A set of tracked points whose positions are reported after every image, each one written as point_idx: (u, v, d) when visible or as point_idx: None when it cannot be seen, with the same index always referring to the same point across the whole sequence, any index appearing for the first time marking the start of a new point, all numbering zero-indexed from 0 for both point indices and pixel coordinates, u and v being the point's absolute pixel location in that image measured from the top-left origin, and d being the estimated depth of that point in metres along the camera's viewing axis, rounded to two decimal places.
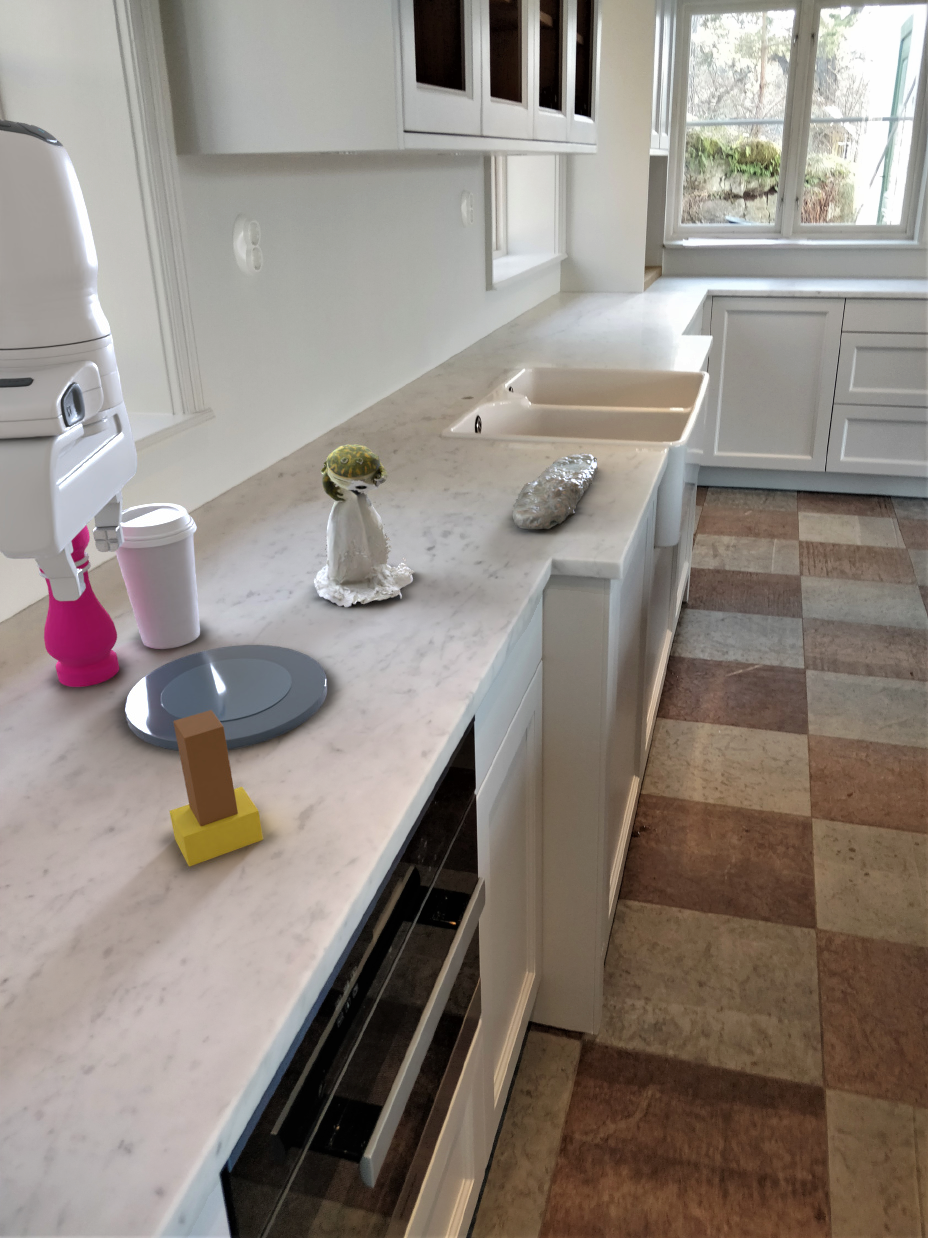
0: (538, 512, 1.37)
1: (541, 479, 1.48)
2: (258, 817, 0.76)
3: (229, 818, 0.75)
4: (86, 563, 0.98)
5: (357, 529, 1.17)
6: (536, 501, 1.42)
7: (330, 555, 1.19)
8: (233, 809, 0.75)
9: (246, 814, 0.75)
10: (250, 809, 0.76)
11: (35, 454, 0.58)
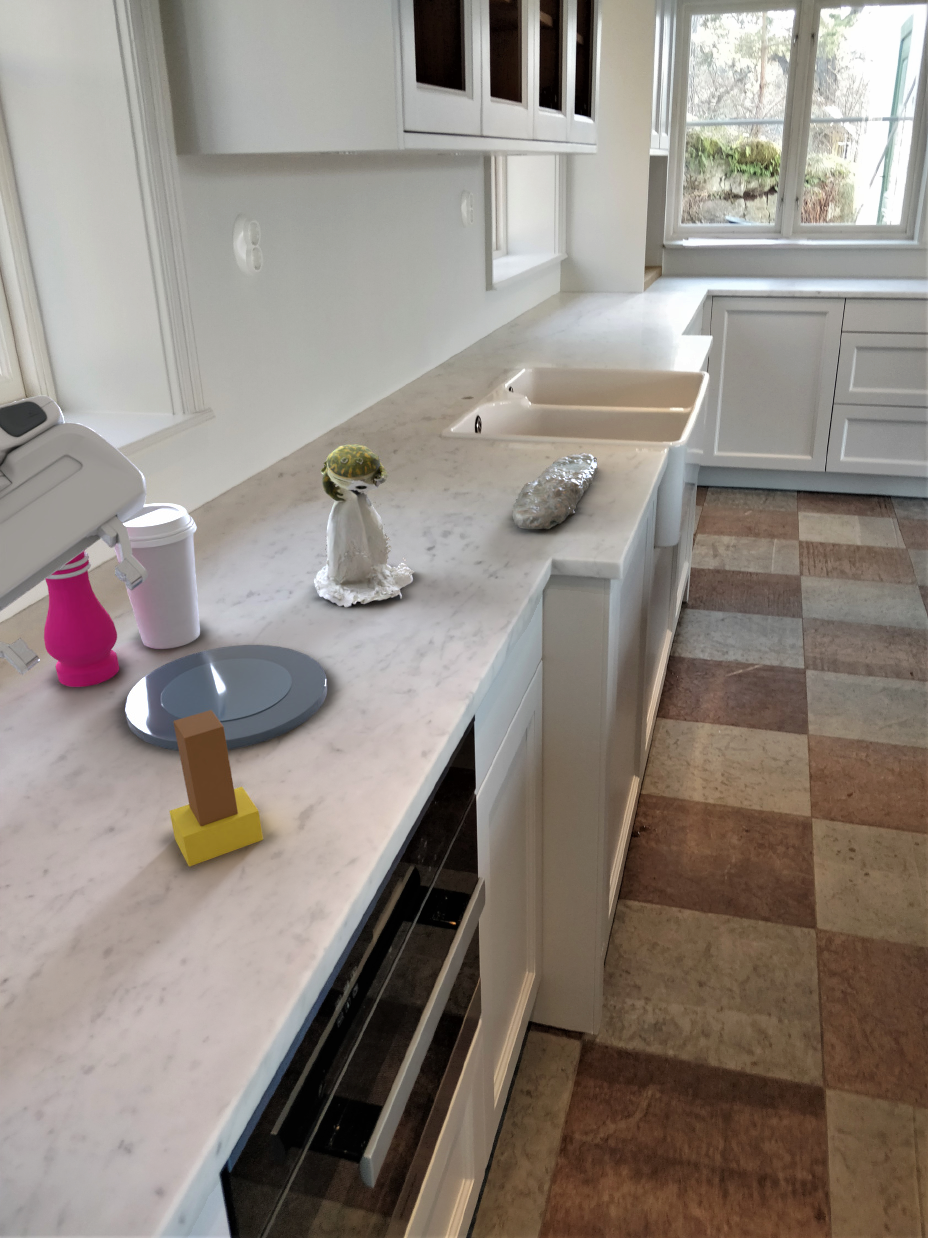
0: (538, 512, 1.37)
1: (541, 479, 1.48)
2: (258, 817, 0.76)
3: (229, 818, 0.75)
4: (86, 563, 0.98)
5: (357, 529, 1.17)
6: (536, 501, 1.42)
7: (330, 555, 1.19)
8: (233, 809, 0.75)
9: (246, 814, 0.75)
10: (250, 809, 0.76)
11: None
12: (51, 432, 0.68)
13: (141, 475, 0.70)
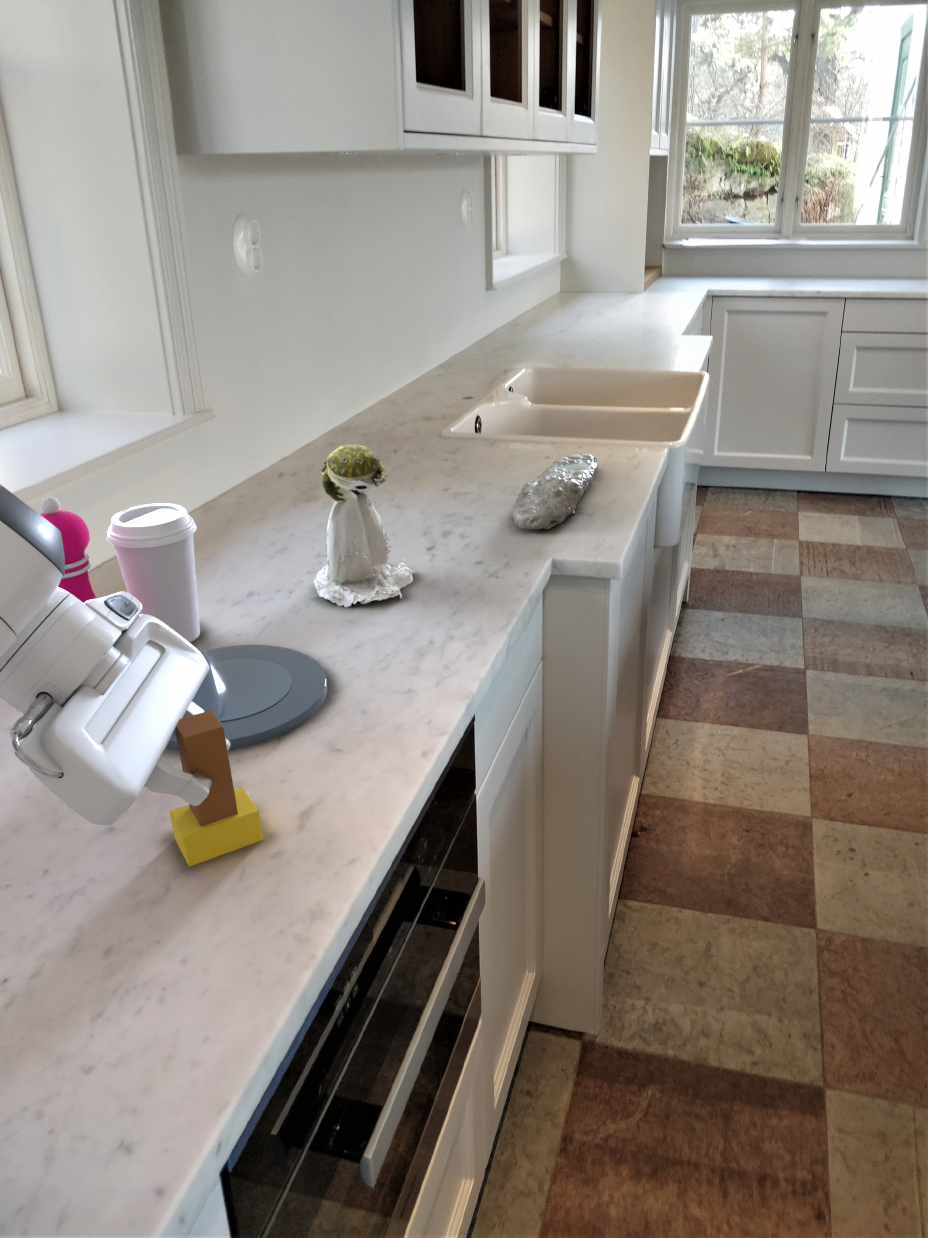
0: (538, 512, 1.37)
1: (541, 479, 1.48)
2: (258, 817, 0.76)
3: (229, 819, 0.75)
4: (86, 563, 0.98)
5: (357, 529, 1.17)
6: (536, 501, 1.42)
7: (330, 555, 1.19)
8: (233, 809, 0.75)
9: (246, 814, 0.75)
10: (250, 809, 0.76)
11: None
12: (140, 620, 0.76)
13: (203, 656, 0.81)
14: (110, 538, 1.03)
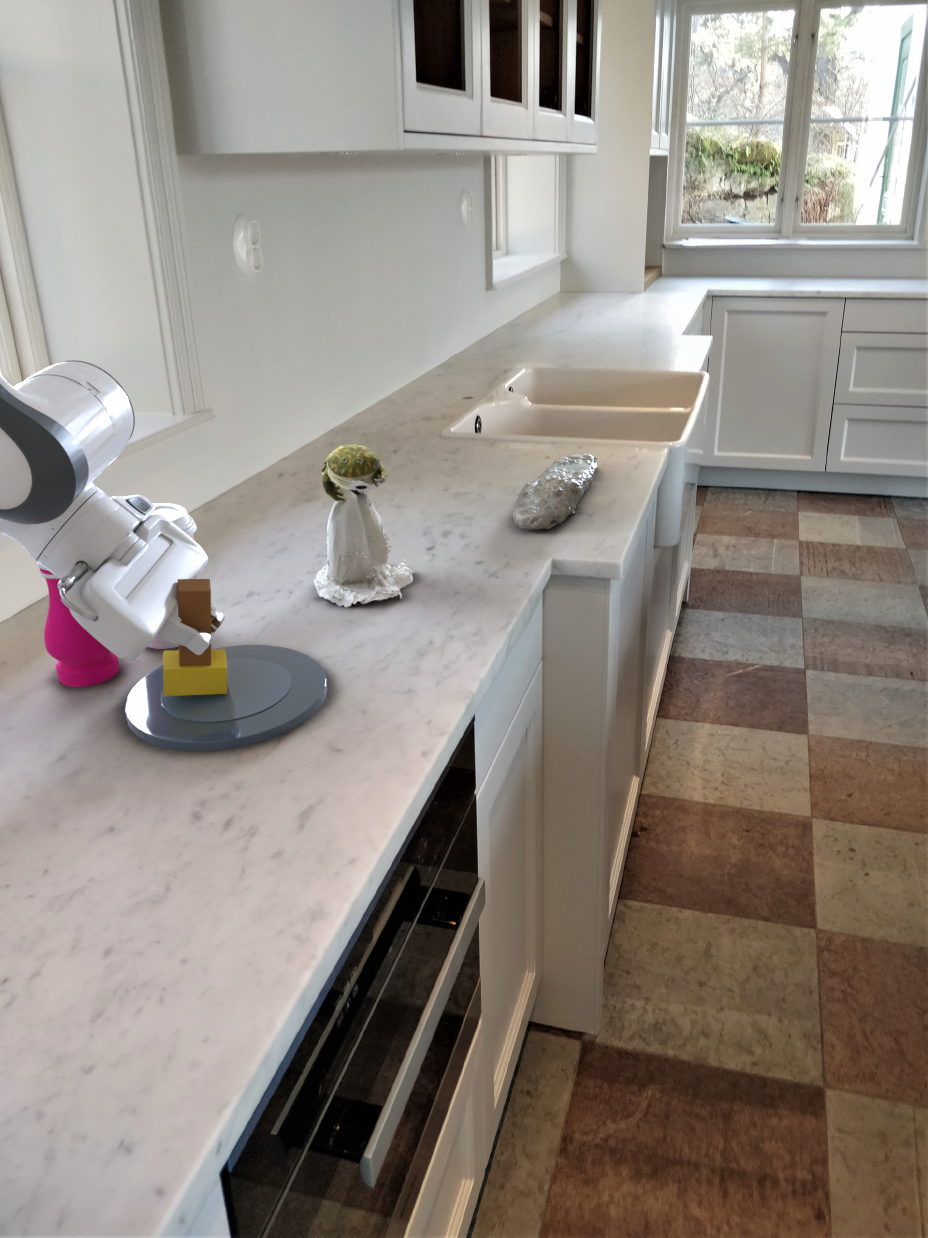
0: (538, 512, 1.37)
1: (541, 479, 1.48)
2: (226, 672, 0.94)
3: (203, 667, 0.94)
4: None
5: (357, 529, 1.17)
6: (536, 501, 1.42)
7: (330, 555, 1.19)
8: (207, 660, 0.94)
9: (216, 667, 0.94)
10: (221, 665, 0.94)
11: None
12: (154, 517, 0.96)
13: (203, 550, 1.01)
14: None
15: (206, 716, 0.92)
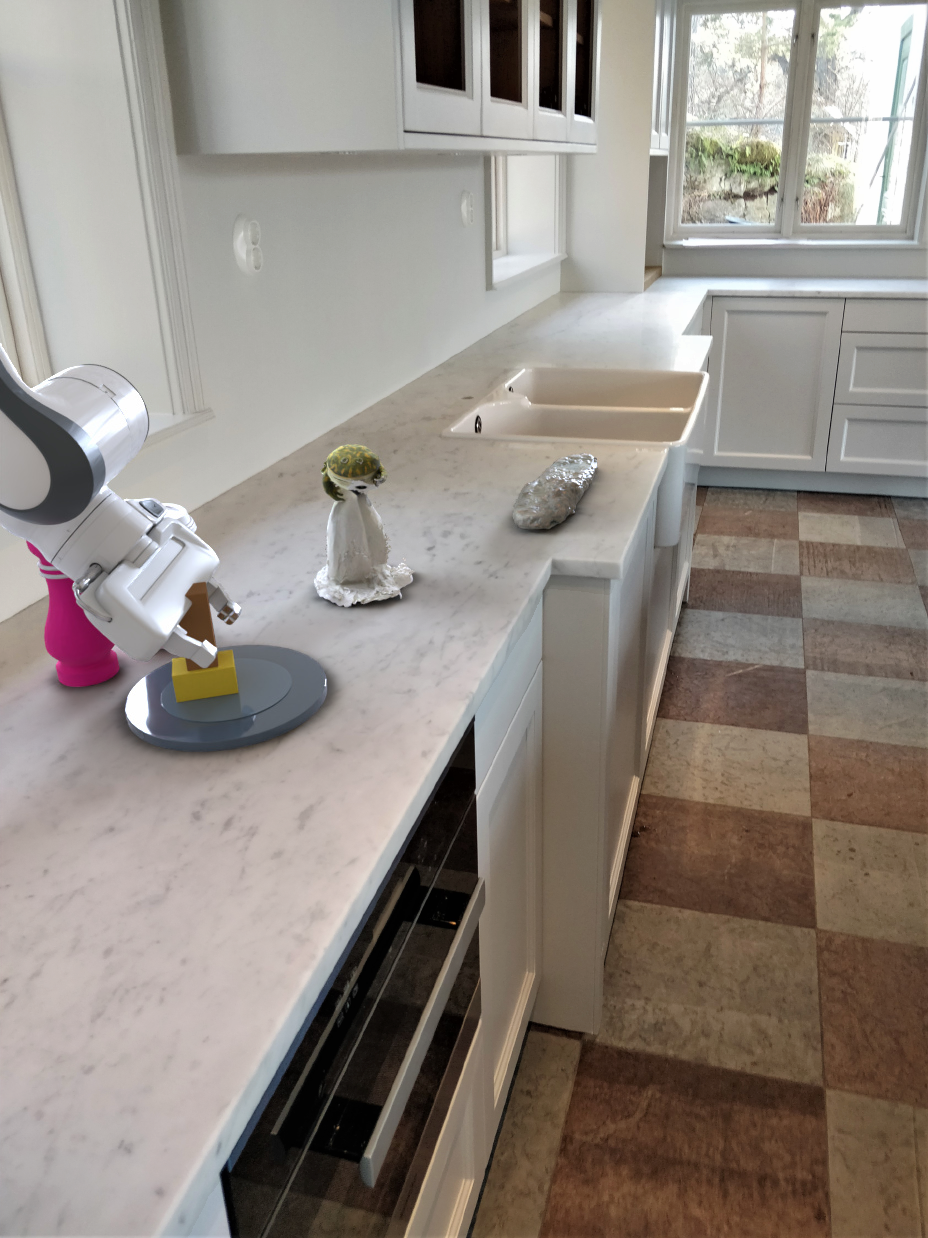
0: (538, 512, 1.37)
1: (541, 479, 1.48)
2: (234, 672, 0.95)
3: (210, 669, 0.95)
4: None
5: (357, 529, 1.17)
6: (536, 501, 1.42)
7: (330, 555, 1.19)
8: (214, 662, 0.95)
9: (224, 667, 0.95)
10: (228, 665, 0.95)
11: None
12: (166, 520, 0.97)
13: (215, 553, 1.01)
14: None
15: (206, 716, 0.92)
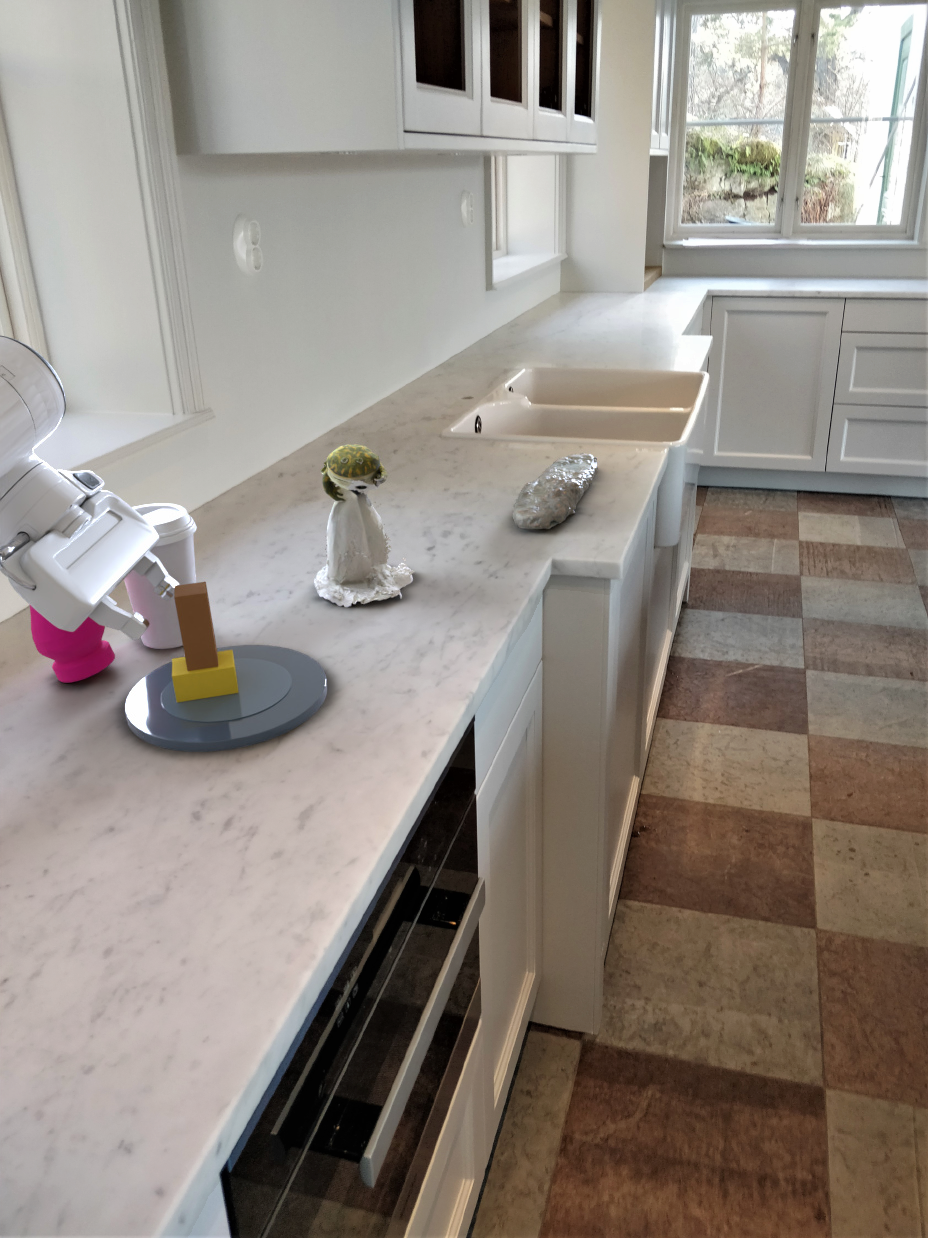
0: (538, 512, 1.37)
1: (541, 479, 1.48)
2: (234, 672, 0.95)
3: (210, 669, 0.95)
4: None
5: (357, 529, 1.17)
6: (536, 501, 1.42)
7: (330, 555, 1.19)
8: (214, 662, 0.95)
9: (224, 667, 0.95)
10: (228, 665, 0.95)
11: None
12: (102, 493, 0.96)
13: (154, 528, 1.00)
14: None
15: (206, 716, 0.92)
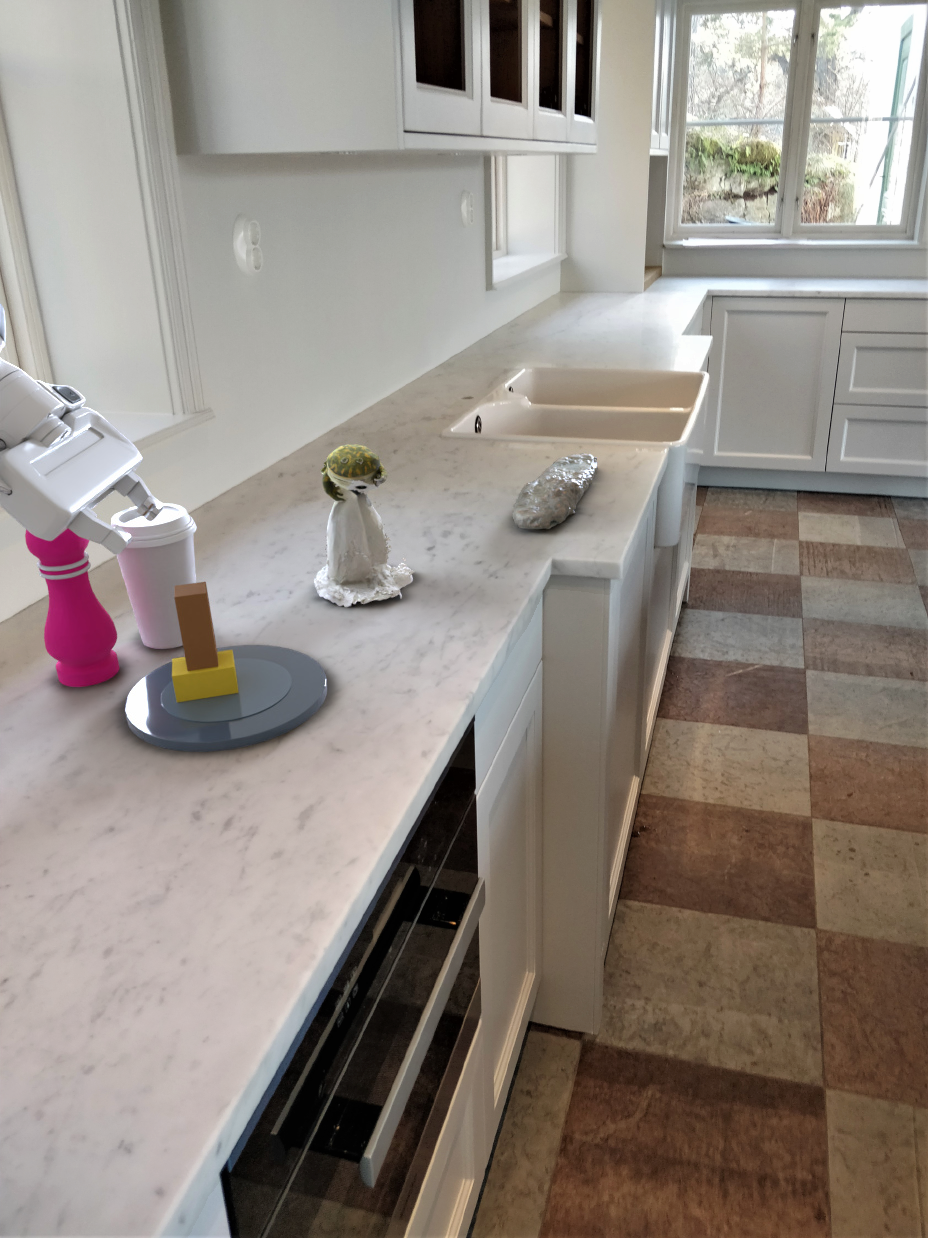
0: (538, 512, 1.37)
1: (541, 479, 1.48)
2: (234, 672, 0.95)
3: (210, 669, 0.95)
4: (86, 563, 0.98)
5: (357, 529, 1.17)
6: (536, 501, 1.42)
7: (330, 555, 1.19)
8: (214, 662, 0.95)
9: (224, 667, 0.95)
10: (228, 665, 0.95)
11: None
12: (83, 409, 0.92)
13: (137, 450, 0.97)
14: None
15: (206, 716, 0.92)
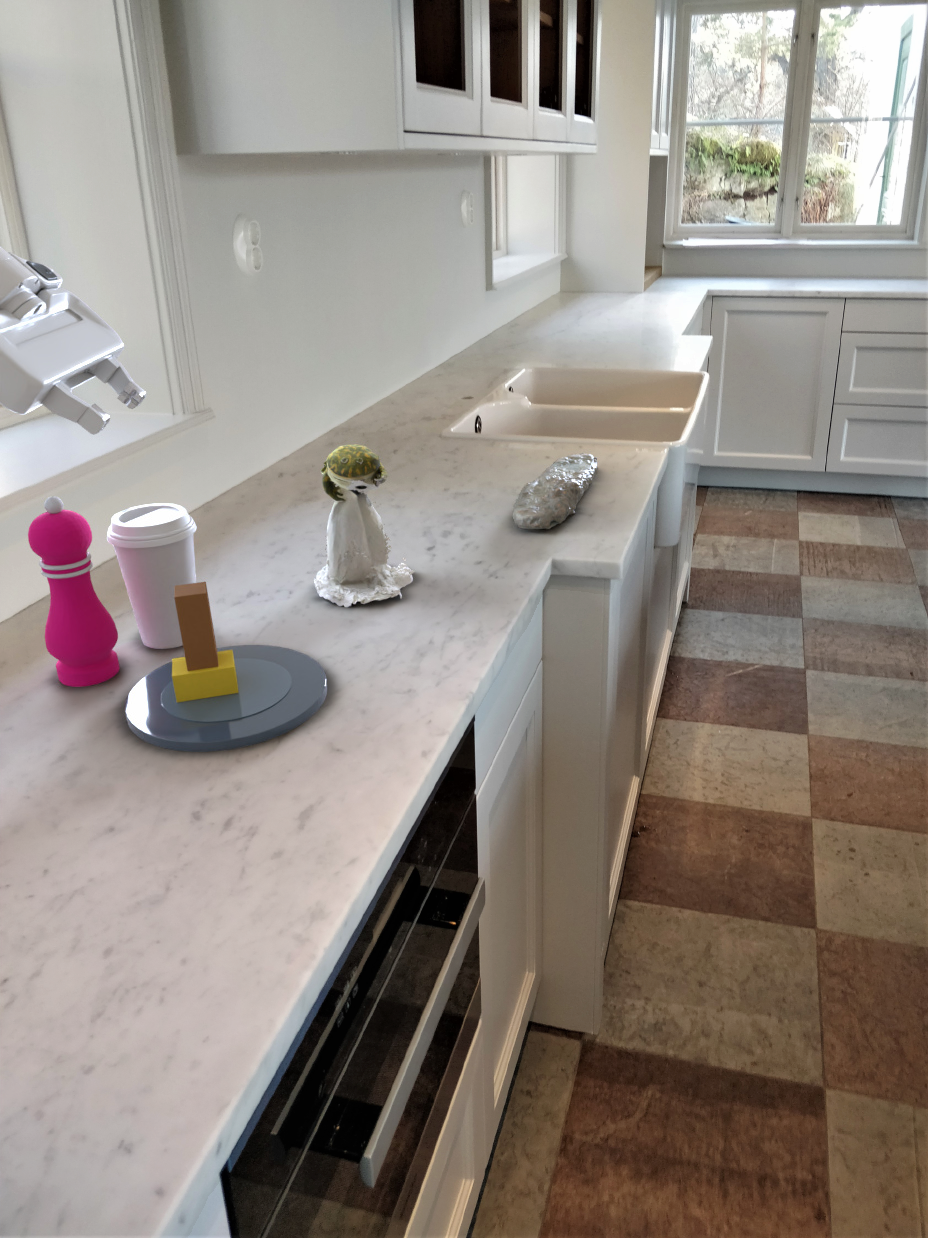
0: (538, 512, 1.37)
1: (541, 479, 1.48)
2: (234, 672, 0.95)
3: (210, 669, 0.95)
4: (88, 563, 0.98)
5: (357, 529, 1.17)
6: (536, 501, 1.42)
7: (330, 555, 1.19)
8: (214, 662, 0.95)
9: (224, 667, 0.95)
10: (228, 665, 0.95)
11: None
12: (60, 288, 0.88)
13: None
14: (110, 538, 1.03)
15: (206, 716, 0.92)
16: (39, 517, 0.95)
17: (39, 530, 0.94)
